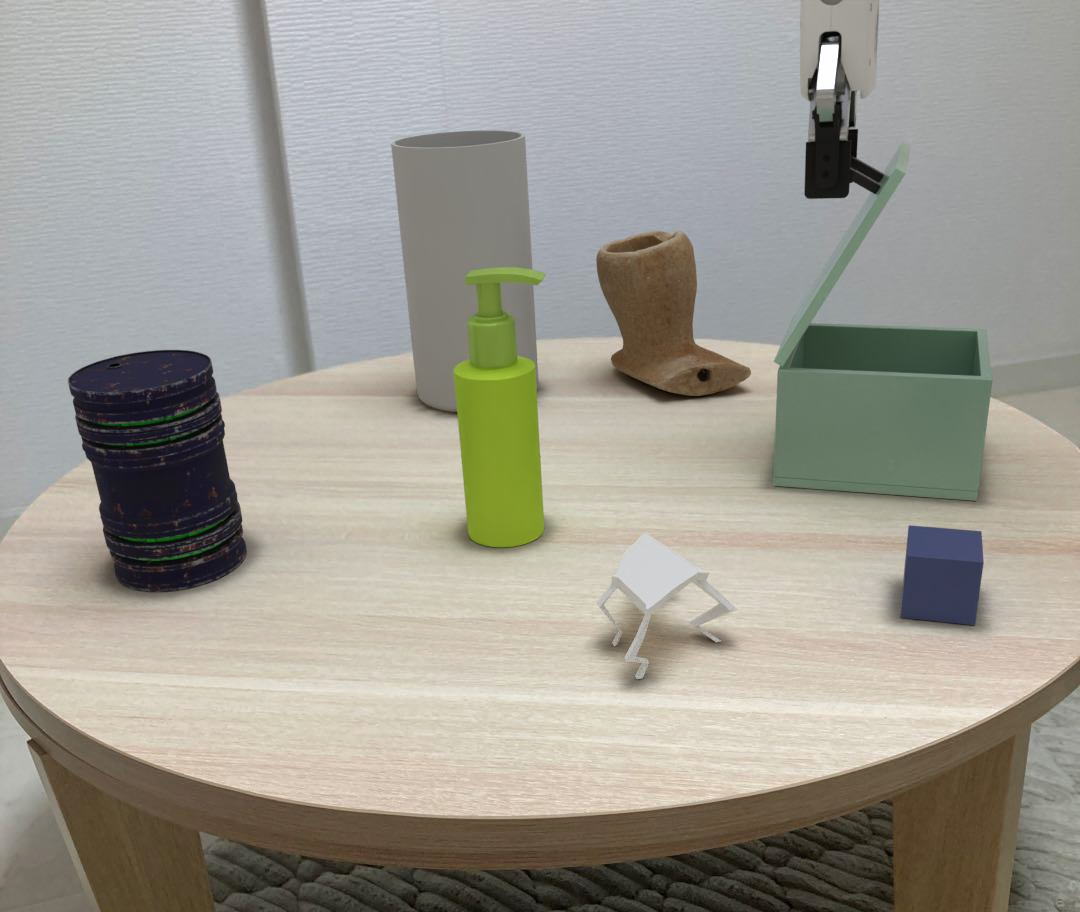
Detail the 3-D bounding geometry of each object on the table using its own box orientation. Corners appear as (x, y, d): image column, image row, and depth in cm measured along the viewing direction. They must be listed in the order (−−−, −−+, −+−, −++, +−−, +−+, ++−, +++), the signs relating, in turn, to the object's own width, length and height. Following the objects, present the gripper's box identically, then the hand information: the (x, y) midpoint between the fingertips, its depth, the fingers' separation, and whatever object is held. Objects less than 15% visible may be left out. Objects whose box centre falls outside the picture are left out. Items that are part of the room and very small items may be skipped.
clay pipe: (582, 371, 122) (576, 229, 115) (679, 353, 126) (680, 215, 119) (647, 413, 109) (645, 256, 103) (753, 392, 113) (758, 239, 107)
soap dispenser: (551, 548, 84) (536, 279, 75) (460, 546, 85) (435, 281, 77) (562, 515, 89) (550, 259, 81) (476, 513, 91) (455, 261, 82)
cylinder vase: (484, 368, 125) (466, 127, 114) (564, 390, 117) (552, 133, 106) (393, 397, 117) (364, 143, 106) (471, 424, 109) (448, 151, 98)
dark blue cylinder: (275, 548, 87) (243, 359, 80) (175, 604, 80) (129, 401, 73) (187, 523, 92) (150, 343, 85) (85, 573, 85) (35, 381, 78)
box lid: (910, 146, 91) (847, 110, 91) (905, 173, 79) (833, 132, 80) (801, 319, 99) (743, 286, 100) (782, 367, 88) (717, 329, 88)
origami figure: (754, 667, 68) (756, 596, 66) (619, 689, 67) (617, 617, 65) (691, 578, 79) (691, 513, 77) (574, 595, 78) (571, 530, 76)
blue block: (973, 591, 75) (981, 530, 73) (975, 625, 72) (983, 562, 70) (902, 585, 77) (908, 524, 75) (900, 618, 73) (906, 555, 71)
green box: (973, 438, 99) (986, 328, 95) (977, 501, 88) (992, 379, 84) (791, 427, 104) (796, 322, 100) (772, 486, 92) (777, 370, 88)
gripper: (890, -85, 71) (874, 209, 79) (901, -76, 86) (886, 171, 94) (770, -73, 74) (766, 211, 81) (800, -66, 88) (794, 174, 96)
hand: (830, 187), depth 88 cm, fingers closed on box lid, 6 cm apart
